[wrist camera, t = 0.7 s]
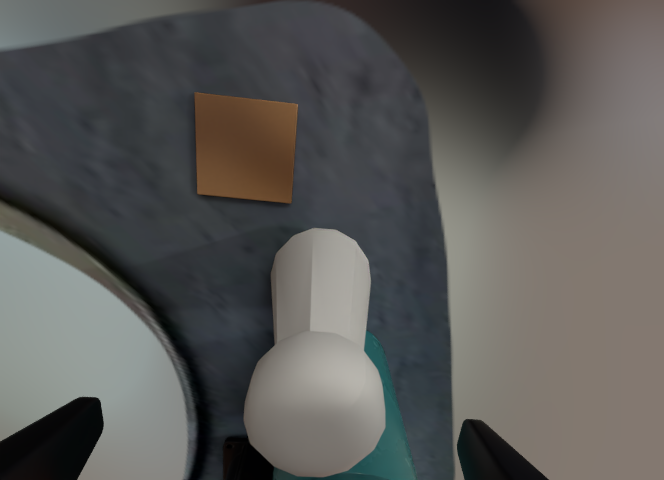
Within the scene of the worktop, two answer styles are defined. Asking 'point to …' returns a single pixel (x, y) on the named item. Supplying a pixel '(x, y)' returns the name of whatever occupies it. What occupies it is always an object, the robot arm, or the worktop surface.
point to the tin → (392, 448)
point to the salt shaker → (317, 361)
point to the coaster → (245, 147)
